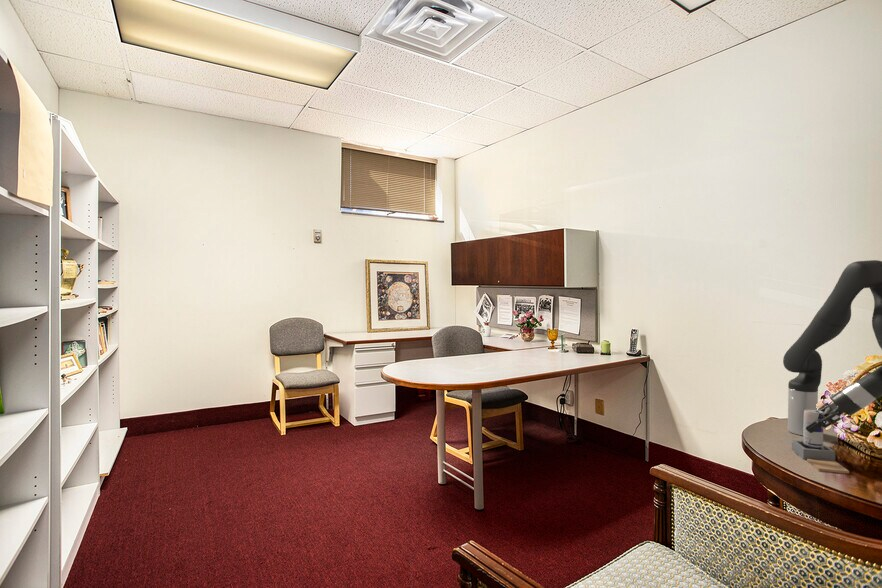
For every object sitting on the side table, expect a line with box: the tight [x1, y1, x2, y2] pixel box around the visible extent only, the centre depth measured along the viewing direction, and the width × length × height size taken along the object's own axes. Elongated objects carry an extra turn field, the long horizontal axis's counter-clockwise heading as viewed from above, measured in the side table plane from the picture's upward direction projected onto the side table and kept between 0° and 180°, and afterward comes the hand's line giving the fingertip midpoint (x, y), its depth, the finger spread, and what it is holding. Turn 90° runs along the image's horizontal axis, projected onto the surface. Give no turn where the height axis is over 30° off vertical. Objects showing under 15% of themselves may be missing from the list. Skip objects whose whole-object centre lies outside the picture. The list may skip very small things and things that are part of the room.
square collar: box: [791, 439, 836, 461], centre depth 160 cm, size 9×9×4 cm
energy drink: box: [802, 409, 825, 448], centre depth 160 cm, size 5×5×12 cm
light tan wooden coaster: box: [806, 459, 850, 474], centre depth 151 cm, size 8×8×1 cm
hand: (806, 427), depth 161 cm, fingers closed on energy drink, 5 cm apart
